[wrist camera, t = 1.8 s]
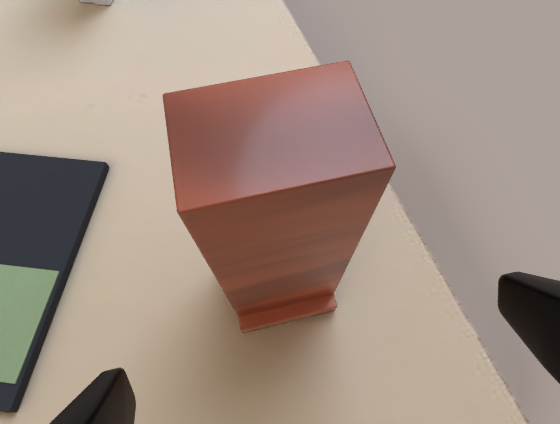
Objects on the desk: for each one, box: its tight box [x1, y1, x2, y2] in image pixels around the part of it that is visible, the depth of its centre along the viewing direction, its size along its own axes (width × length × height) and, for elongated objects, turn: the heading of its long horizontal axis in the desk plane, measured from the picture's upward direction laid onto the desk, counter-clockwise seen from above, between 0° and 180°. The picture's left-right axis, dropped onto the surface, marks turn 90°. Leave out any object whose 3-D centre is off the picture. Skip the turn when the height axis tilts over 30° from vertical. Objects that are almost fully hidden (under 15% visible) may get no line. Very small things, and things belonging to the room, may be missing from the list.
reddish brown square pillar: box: [163, 61, 396, 333], centre depth 15 cm, size 5×5×13 cm
